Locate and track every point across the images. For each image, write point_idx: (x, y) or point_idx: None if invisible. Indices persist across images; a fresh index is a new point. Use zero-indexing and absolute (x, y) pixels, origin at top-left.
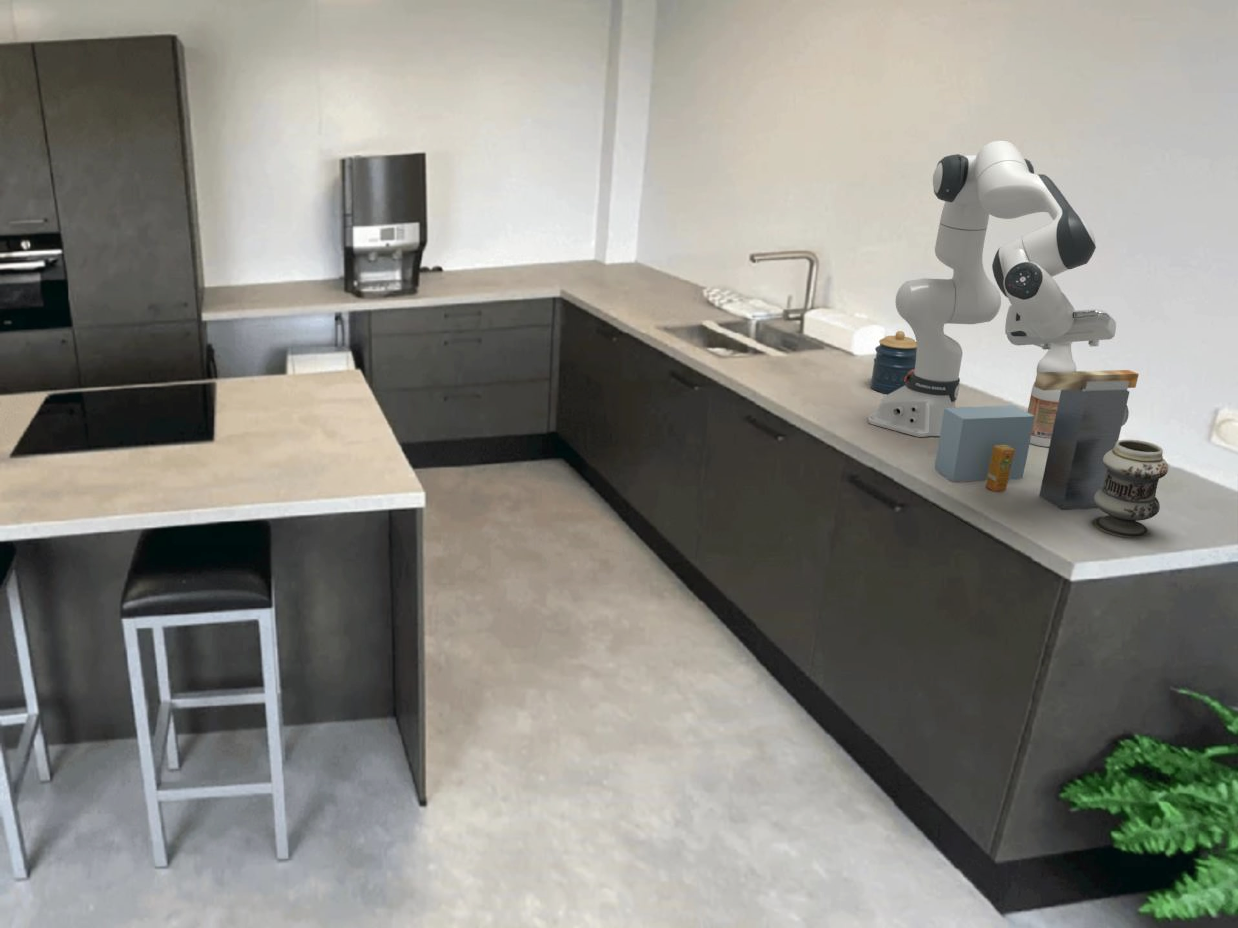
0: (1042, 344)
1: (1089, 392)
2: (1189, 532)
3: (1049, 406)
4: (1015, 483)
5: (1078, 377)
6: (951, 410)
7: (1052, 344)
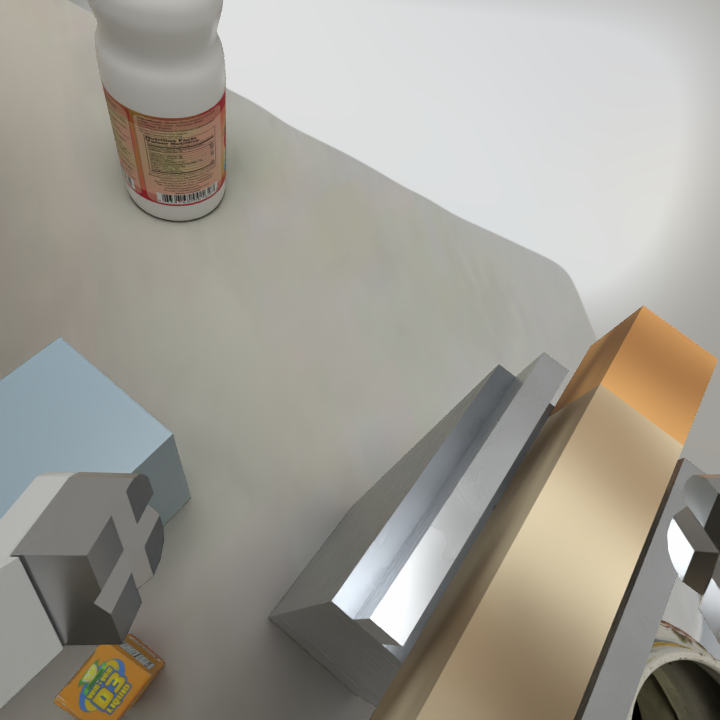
0: (19, 667)
1: None
2: None
3: (174, 132)
4: (180, 562)
5: None
6: None
7: None
